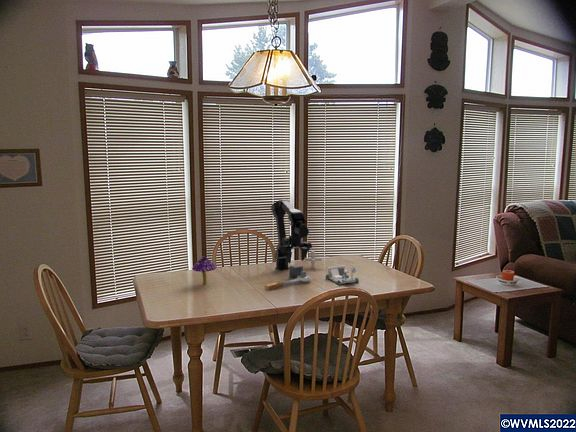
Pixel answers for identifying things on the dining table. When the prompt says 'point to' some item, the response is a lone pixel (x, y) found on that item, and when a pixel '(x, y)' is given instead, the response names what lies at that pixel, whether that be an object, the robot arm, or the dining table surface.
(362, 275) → the dining table surface
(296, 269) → the dark grey block
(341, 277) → the toy car
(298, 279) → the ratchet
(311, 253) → the pipe connector
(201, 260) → the purple mushroom
